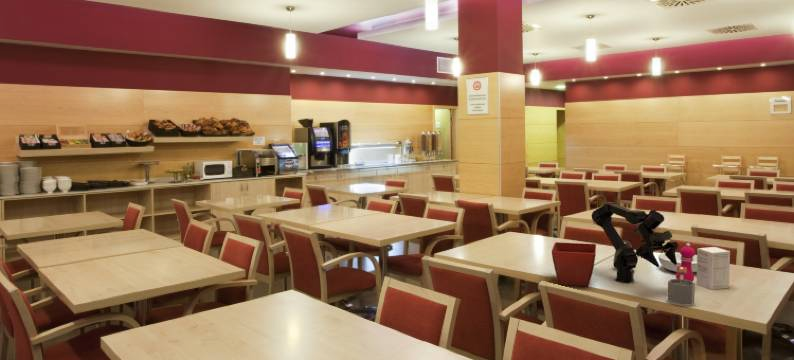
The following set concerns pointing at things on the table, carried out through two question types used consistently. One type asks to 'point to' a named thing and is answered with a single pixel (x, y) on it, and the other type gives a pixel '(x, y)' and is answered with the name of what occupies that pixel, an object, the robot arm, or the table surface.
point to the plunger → (681, 274)
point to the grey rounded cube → (681, 293)
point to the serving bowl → (669, 265)
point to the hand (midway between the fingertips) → (667, 265)
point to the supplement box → (713, 267)
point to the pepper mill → (687, 262)
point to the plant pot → (574, 263)
